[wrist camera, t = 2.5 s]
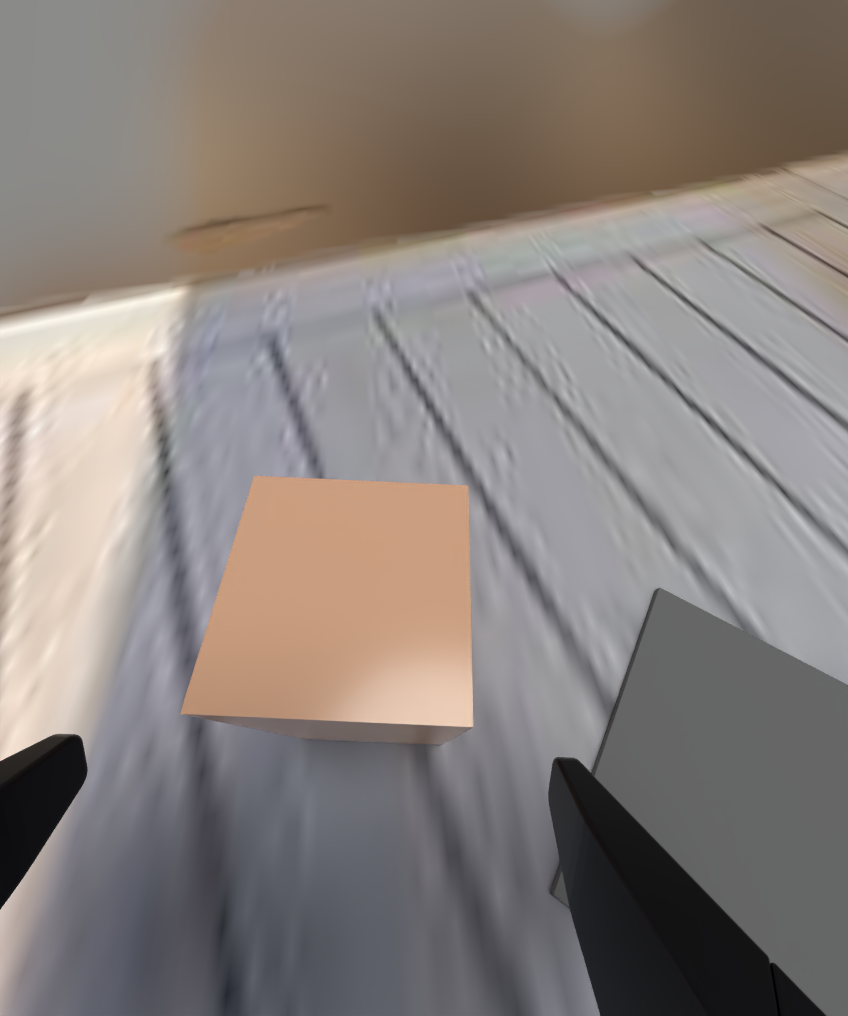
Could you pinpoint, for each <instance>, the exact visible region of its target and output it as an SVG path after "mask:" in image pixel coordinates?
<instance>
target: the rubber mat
mask: <svg viewBox="0 0 848 1016" xmlns="http://www.w3.org/2000/svg"><path fill="white" fill-rule="evenodd" d="M592 775H593V776H594V777H595V778H596V779H597V780H598V781H599V782H600V783H601V784H602V785H603V786H604V787H605V788H606V789H607V790H608V791H609V792H610V793H611V794H612V795H613V796H614V797H615V798H616V799H617V800H618V801H619V803H620V804H621V805H622V806H623V807H624V808H625V809H626V810H627V811H628V812H629V813H630V814H631V815H632V816H633V817H634V818H635V819H636V820H637V821H638V822H639V823H640V824H641V825H642V826H643V827H644V828H645V829H646V830H647V831H648V832H649V833H650V835H651V836H652V837H653V838H654V839H655V840H656V841H657V842H658V843H659V844H660V845H661V846H662V847H663V848H664V849H665V850H666V851H667V852H668V853H669V854H670V855H671V856H672V857H673V858H674V859H675V860H676V861H677V862H678V863H679V864H680V865H681V867H682V868H683V869H684V870H685V871H686V872H687V873H688V874H689V875H690V876H691V877H692V878H693V879H694V880H695V881H696V882H697V883H698V884H699V885H700V886H701V887H702V888H703V889H704V890H705V891H706V892H707V893H708V894H709V895H710V896H711V897H712V899H713V900H714V901H715V902H716V903H717V904H718V905H719V906H720V907H721V908H722V909H723V910H724V911H725V912H726V913H727V914H728V915H729V916H730V917H731V918H732V919H733V920H734V921H735V922H736V923H737V924H738V925H739V926H740V927H741V928H742V929H743V931H744V932H745V933H746V934H747V935H748V936H749V937H750V938H751V939H752V940H753V941H754V942H755V943H756V944H757V945H758V946H759V947H760V948H761V949H762V950H763V951H764V952H765V953H766V954H767V955H768V957H769V959H770V963H772V962H773V963H775V964H777V965H778V966H779V967H780V968H781V969H782V970H783V972H784V973H785V974H786V975H787V976H788V977H789V978H790V979H791V980H792V981H793V982H794V983H795V984H796V985H797V986H798V987H799V988H800V989H801V990H802V991H803V992H804V993H805V994H806V995H807V996H808V997H809V998H810V999H811V1000H812V1001H813V1002H814V1003H815V1004H816V1005H817V1006H818V1007H819V1008H820V1009H821V1010H822V1011H823V1012H824V1013H825V1014H826V1015H827V1016H848V685H846V684H845V683H843V682H841V681H839V680H837V679H835V678H833V677H831V676H829V675H827V674H825V673H823V672H821V671H819V670H818V669H816V668H814V667H812V666H810V665H808V664H806V663H804V662H802V661H800V660H798V659H796V658H794V657H793V656H791V655H789V654H787V653H785V652H783V651H781V650H779V649H777V648H775V647H773V646H771V645H769V644H767V643H766V642H764V641H762V640H760V639H758V638H756V637H754V636H752V635H750V634H748V633H746V632H744V631H742V630H740V629H739V628H737V627H735V626H733V625H731V624H729V623H727V622H725V621H723V620H721V619H719V618H717V617H715V616H713V615H712V614H710V613H708V612H706V611H704V610H702V609H700V608H698V607H696V606H694V605H692V604H690V603H688V602H687V601H685V600H683V599H681V598H679V597H677V596H675V595H673V594H671V593H669V592H667V591H665V590H663V589H661V588H660V587H659V588H658V589H656V590H655V593H654V596H653V599H652V602H651V605H650V607H649V610H648V613H647V616H646V619H645V622H644V625H643V628H642V630H641V633H640V636H639V639H638V642H637V645H636V648H635V651H634V653H633V656H632V659H631V662H630V665H629V668H628V671H627V674H626V676H625V679H624V682H623V685H622V688H621V691H620V694H619V697H618V699H617V702H616V705H615V708H614V711H613V714H612V717H611V719H610V722H609V725H608V728H607V731H606V734H605V737H604V740H603V742H602V745H601V748H600V751H599V754H598V757H597V760H596V763H595V765H594V768H593V771H592ZM551 893H552V894H553V895H554V896H555V897H557V898H558V899H559V900H561V901H562V902H563V903H565V904H566V905H567V906H568V907H569V903H568V898H567V893H566V888H565V883H564V878H563V873H562V868H561V863H560V866H559V869H558V872H557V875H556V877H555V880H554V883H553V886H552V889H551Z"/></svg>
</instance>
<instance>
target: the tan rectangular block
mask: <svg viewBox="0 0 848 1016" xmlns="http://www.w3.org/2000/svg"><path fill="white" fill-rule="evenodd" d="M180 714H183V715H188V716H193V717H198V718H203V719H208V720H213V721H218V722H222V723H227V724H232V725H237V726H242V727H247V728H252V729H257V730H262V731H266V732H271V733H276V734H281V735H286V736H291V737H296V738H301V739H317V740H339V741H361V742H383V743H405V744H427V745H442V744H444V743H446V742H448V741H449V740H451V739H453V738H455V737H457V736H458V735H460V734H462V733H464V732H466V731H467V730H469V729H471V728H473V695H472V646H471V598H470V549H469V500H468V486H464V485H442V484H421V483H399V482H377V481H355V480H334V479H312V478H290V477H268V476H254V479H253V482H252V485H251V488H250V491H249V495H248V498H247V501H246V504H245V507H244V511H243V514H242V517H241V520H240V523H239V527H238V530H237V533H236V536H235V539H234V543H233V546H232V549H231V552H230V556H229V559H228V562H227V565H226V568H225V572H224V575H223V578H222V581H221V584H220V588H219V591H218V594H217V597H216V600H215V604H214V607H213V610H212V613H211V616H210V620H209V623H208V626H207V629H206V633H205V636H204V639H203V642H202V645H201V649H200V652H199V655H198V658H197V661H196V665H195V668H194V671H193V674H192V677H191V681H190V684H189V687H188V690H187V694H186V697H185V700H184V703H183V706H182V710H181V713H180Z"/></svg>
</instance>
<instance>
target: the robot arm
mask: <svg viewBox="0 0 848 1016" xmlns="http://www.w3.org/2000/svg"><path fill="white" fill-rule="evenodd" d="M87 770H88V769H87V763H86V757H85V752H84V746H83V741H82V738H81V737H80V736H79V735H75V734H55V735H52V736H50V737H48V738H46V739H44V740H42V741H40V742H38V743H36V744H34V745H32V746H30V747H28V748H26V749H24V750H22V751H20V752H18V753H16V754H14V755H12V756H10V757H8V758H6V759H4V760H2V761H0V909H1V908H2V906H3V905H4V904H5V902H6V901H7V900H8V898H9V897H10V896H11V894H12V893H13V891H14V890H15V889H16V887H17V886H18V884H19V883H20V882H21V880H22V879H23V877H24V876H25V874H26V873H27V871H28V870H29V868H30V867H31V865H32V864H33V862H34V861H35V859H36V857H37V856H38V854H39V853H40V851H41V850H42V848H43V847H44V845H45V843H46V842H47V840H48V839H49V837H50V836H51V834H52V832H53V831H54V829H55V828H56V826H57V825H58V823H59V821H60V820H61V818H62V817H63V815H64V814H65V812H66V810H67V809H68V807H69V806H70V804H71V803H72V801H73V800H74V798H75V796H76V795H77V793H78V792H79V790H80V789H81V787H82V785H83V783H84V781H85V779H86V776H87ZM548 798H549V807H550V812H551V817H552V822H553V827H554V833H555V838H556V843H557V848H558V853H559V858H560V863H561V868H562V873H563V878H564V883H565V888H566V893H567V898H568V903H569V907H570V911H571V914H572V918H573V922H574V926H575V929H576V933H577V936H578V939H579V943H580V946H581V950H582V953H583V957H584V960H585V964H586V967H587V971H588V974H589V978H590V981H591V985H592V988H593V991H594V995H595V998H596V1002H597V1005H598V1009H599V1012H600V1016H827V1015H826V1014H825V1013H824V1012H823V1011H822V1010H821V1009H820V1008H819V1007H818V1006H817V1005H816V1004H815V1003H814V1002H813V1001H812V1000H811V999H810V998H809V997H808V996H807V995H806V994H805V993H804V992H803V991H802V990H801V989H800V988H799V987H798V986H797V985H796V984H795V983H794V982H793V981H792V980H791V979H790V978H789V977H788V976H787V975H786V974H785V973H784V972H783V970H782V969H781V968H780V967H779V966H778V965H777V964H775V963H773V962H772V963H770V959H769V957H768V955H767V954H766V953H765V952H764V951H763V950H762V949H761V948H760V947H759V946H758V945H757V944H756V943H755V942H754V941H753V940H752V939H751V938H750V937H749V936H748V935H747V934H746V933H745V932H744V931H743V929H742V928H741V927H740V926H739V925H738V924H737V923H736V922H735V921H734V920H733V919H732V918H731V917H730V916H729V915H728V914H727V913H726V912H725V911H724V910H723V909H722V908H721V907H720V906H719V905H718V904H717V903H716V902H715V901H714V900H713V899H712V897H711V896H710V895H709V894H708V893H707V892H706V891H705V890H704V889H703V888H702V887H701V886H700V885H699V884H698V883H697V882H696V881H695V880H694V879H693V878H692V877H691V876H690V875H689V874H688V873H687V872H686V871H685V870H684V869H683V868H682V867H681V865H680V864H679V863H678V862H677V861H676V860H675V859H674V858H673V857H672V856H671V855H670V854H669V853H668V852H667V851H666V850H665V849H664V848H663V847H662V846H661V845H660V844H659V843H658V842H657V841H656V840H655V839H654V838H653V837H652V836H651V835H650V833H649V832H648V831H647V830H646V829H645V828H644V827H643V826H642V825H641V824H640V823H639V822H638V821H637V820H636V819H635V818H634V817H633V816H632V815H631V814H630V813H629V812H628V811H627V810H626V809H625V808H624V807H623V806H622V805H621V804H620V803H619V801H618V800H617V799H616V798H615V797H614V796H613V795H612V794H611V793H610V792H609V791H608V790H607V789H606V788H605V787H604V786H603V785H602V784H601V783H600V782H599V781H598V780H597V779H596V778H595V777H594V776H593V775H592V774H591V773H590V772H589V771H588V769H587V768H586V767H585V766H584V765H583V764H582V763H581V762H580V761H579V760H577V759H575V758H566V757H557V758H555V759H554V761H553V764H552V771H551V778H550V784H549V792H548Z"/></svg>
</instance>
